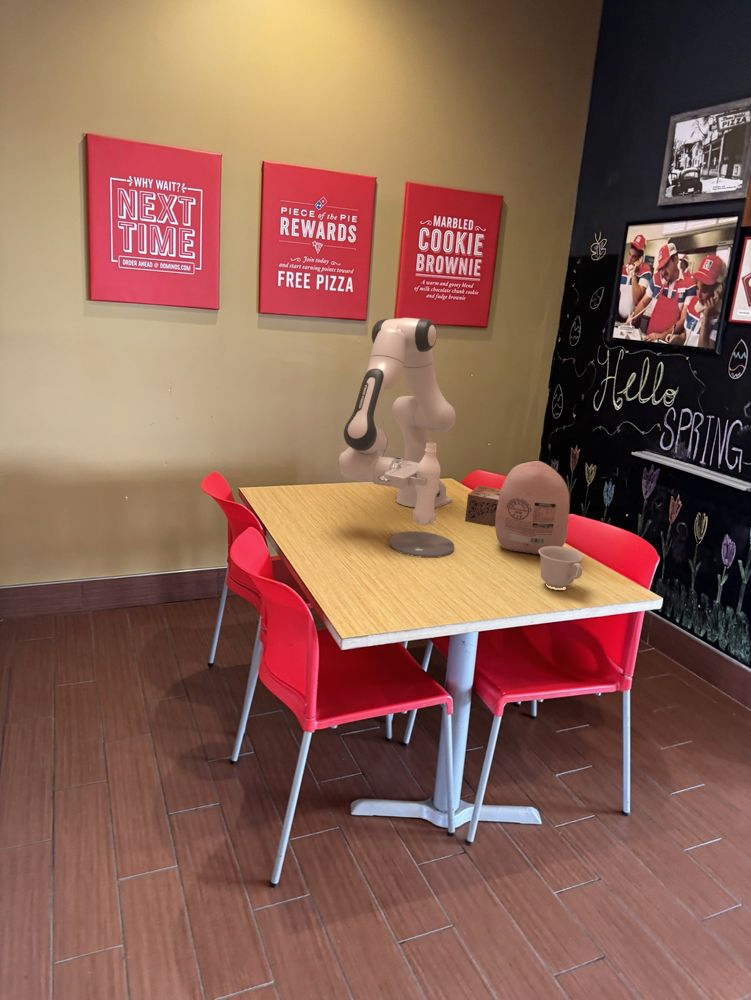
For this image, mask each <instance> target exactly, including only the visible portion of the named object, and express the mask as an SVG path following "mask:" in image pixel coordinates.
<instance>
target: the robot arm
mask: <svg viewBox="0 0 751 1000" xmlns="http://www.w3.org/2000/svg"><path fill="white" fill-rule="evenodd" d="M437 333H438V332H437V328H436V324H435V323H434V322H433V321H432V320H430V319H428V318H427V319H426V318H414V317H412V318H411V317H402V318H391V319H388V318H383V319H381V320H380V319H379V320H378V321H377V322H375V324H374V325H373V327H372V330H371V341H372V346H371V351H370V356H369V360H368V364H367V369H366V372H365V375H364V377H363V380H362V382H361V385H360V388H359V389H360V390H359V391H358V396H357V398H356V403H355V406H354V410H353V412H352V414H351V416H350V418H349V419H348V420H347V422H346V424H345V426H344V429H343V438H344V441H345V443H346V444H347V446H349V447H347V448H346V449H345V450H344V451H342V452H341V453H340V454H339V458H338V469H339V471H340V473H341V475H342V476H344V477H345V478H347V479H350V480H353V481H358V482H362V483H367V482H369V483H373V484H374V485H377V486H379V485H380V486H384V487H389V488H390V487H392V488H396V489H397V490H398V491H397V493H396V494H395V498H396V499H395V501H396V503H398V504H399V505H402V506H405V507H410V508H415V507H416V503H417V492H416V488H415V485H426V484H427V479H424V478H421V479H420V478H417V467H418V465H419V463H420V462H421V460H422V459H423V457H424V455H425V452H426V451H425V449H426V444H427V443H428V442H432V443H434V442H433V441H432V440H431V439H430V437H429V436H428V433H427V431H428V432H429V431H430V432H434V433H443V432H445V433H446V432H448V431H450V430H451V429H452V428H453V427H454V425H455V422H456V415H457V414H456V411H455V408H454V407H453V405H451V404H450V403H449V402H448V401H447V400H446V398H445V397H444V395H443V394H442V392H441V390H440V388H439V387H440V386H439V385H438V382H437V377H436V370H435V361H434V353H433V347H434V346H435V345H436V344H437V343H436V342H437ZM402 374H403V375H402ZM402 376H403V384H404V386H405V388H406V389H407V390H408V391H409V392H410V393H411V394H412V395H403V396H399V397H397V398H396V399H395V400H394V402H393V405H392V407H391V408H392V409H391V413H392V416H393V417H392V418H393V419H394V420H395V422H396V423H397V424H398V425H399V428H400V430H401V433H402V436H403V443H404V455H403V457H399V456H398V457H389V456H384V455H385V453H386V450H387V447H388V443H389V442H388V436H387V434H386V433H385V432H384V431H383V430H382V429H381V428H380V427H379V426H377V424H376V421H375V415H376V412H377V407H378V403H379V400H380V396H381V394H382V392H383V391H384V390H385V391H387V390H390V389H392V388H394V387H396V386H397V385H398V384H399V382H400V379H401V378H402ZM440 469H441V467H440ZM441 470H442V469H441ZM452 501H453V499H452V498H451V497H449V496H448V495H447V486H446V484H445V483H443V481H442V480H440V479H439V491H438V493H437V495H436V497H435V501H434V508H435V509H437V508H440V507H442V506H444V505H448V504H449V503H452Z"/></svg>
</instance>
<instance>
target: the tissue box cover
mask: <svg viewBox="0 0 751 1000" xmlns="http://www.w3.org/2000/svg"><path fill="white" fill-rule="evenodd" d="M500 491H501V488H495V487H490V486H484V485H477V486H476V487H475V488H474V489H473V490H472V491H470V492H469V493H468V494H467V498H466V499H467V500H466V501H467V502H466V509H465V518H464V522H465V523H466V522H468V523H471V524H472V523H473V524H477V525H484V526H487V525H489V527H493V526H495V522H496V511H497V505H498V500H499V495H500Z"/></svg>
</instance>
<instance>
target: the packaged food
mask: <svg viewBox="0 0 751 1000" xmlns="http://www.w3.org/2000/svg"><path fill="white" fill-rule="evenodd" d="M500 489H501V491H500V495H499V500H498V505H497V511H496V522H495V527H494V528H495V534H496V538H497V541H498V544H499V545H500V547H502V548H504V549H506V550H509V551H512V550H513V552H517V551H519V553H524V552H525V554H530V553H532V554H531V555H536V554H540V553H539V552H538V550H539V549H540V548H542V547H545V546H560V547H564V545H565V543H566V540H567V535H568V527H569V526H568V524H569V515H570V514H569V513H570V491H569V489H568V485H567V483H566V481H565V479H564V478H563V476H562V475H561V473H560V472H558V471H557V470H556V469H554V467H552V466H551V465H549V464H547V463H545V462H544V461H541V460H537V459H534V460H528V461H524V462H521V463H519V464H516V465H515V466H514V467H512V469H510V471H509V473H508V474H507V476H506V478H505V479H504V482H503V483H502V486H501V488H500Z"/></svg>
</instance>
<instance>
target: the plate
mask: <svg viewBox="0 0 751 1000" xmlns="http://www.w3.org/2000/svg"><path fill="white" fill-rule="evenodd" d="M388 544H389V546H390V548H391V547H392V548H391V549H393V548H394V549H395V550H394V549H393V550H394V551H396V550H397V551H396V552H398V551H399V552H398V553H400V552H402V553H401V554H403V553H405V554H404V555H406V554H409V555H408V556H410V555H413V556H412V557H415V556H421V557H420V558H425V557H435V558H439V557H438V556H443V557H445V556H444V555H447V556H449V555H451V554H452V553H454V551H453V550H454V549H455V544H454V542H453V541H452V540H451V539H449V538H448V537H445V536H443V535H439V534H436V533H431V532H425V531H405V532H398V533H395V534H393V535H391V536H390V538H389V543H388ZM450 553H451V554H450ZM448 554H449V555H448Z"/></svg>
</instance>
